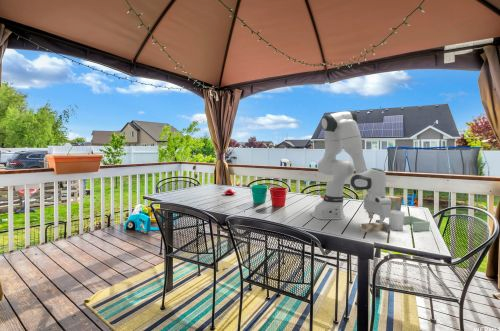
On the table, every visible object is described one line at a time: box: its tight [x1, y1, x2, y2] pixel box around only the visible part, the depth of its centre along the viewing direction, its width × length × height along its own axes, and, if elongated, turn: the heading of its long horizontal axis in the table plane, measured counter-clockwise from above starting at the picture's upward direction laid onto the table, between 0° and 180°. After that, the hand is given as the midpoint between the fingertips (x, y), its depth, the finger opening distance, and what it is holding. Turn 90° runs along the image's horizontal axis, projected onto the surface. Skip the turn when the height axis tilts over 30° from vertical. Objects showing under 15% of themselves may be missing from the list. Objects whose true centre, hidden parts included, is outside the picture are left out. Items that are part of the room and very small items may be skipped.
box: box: [403, 215, 431, 232], centre depth 145 cm, size 11×13×5 cm
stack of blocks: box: [365, 195, 402, 212], centre depth 176 cm, size 21×6×12 cm, turn 82°
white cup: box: [388, 210, 406, 231], centre depth 143 cm, size 8×8×10 cm
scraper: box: [360, 219, 391, 234], centre depth 140 cm, size 14×9×4 cm, turn 102°
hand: (375, 220), depth 139 cm, fingers open, 8 cm apart
